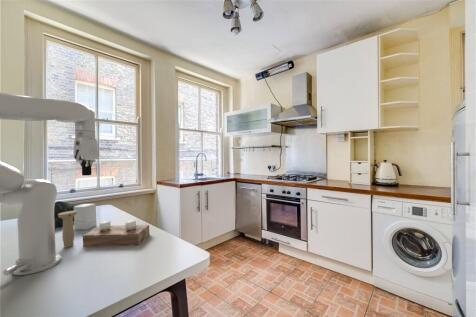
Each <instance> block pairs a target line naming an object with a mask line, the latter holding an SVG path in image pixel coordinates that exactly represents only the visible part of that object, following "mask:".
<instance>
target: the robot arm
mask: <svg viewBox="0 0 476 317" xmlns="http://www.w3.org/2000/svg"><path fill="white" fill-rule="evenodd" d="M0 120H5V121H6V120H8V121H21V122H22V121H25V122H41V121H42V122H43V121H44V122H45V121H57V122H61V123H74V142H73V158H74V160H75V162H76V163H77V164H80V167H81V175H82V176H91V175H92V167H93V163H96V162H97V161H96V160H99V157H100V156H99V153H100V152H99V146H98V145H99V144H98V141H97V137H96V113H95V110H94V109H93V108H90V107H88V106H87V105H86V104H84V103H81V102H76V101H71V100H65V99H58V98H57V99H56V98H55V99H54V98H47V97H46V98H44V97H36V96H28V95H20V94H15V93H14V94H13V93H8V92H0ZM57 196H58V190H57V187H56V185H55V184H54V183H53V182H52V181H49V180H47V179H42V178H40V179H39V178H29V179H27V178H25V176H24V173H23V172H21V170H19V169H18V168H16V167H14V166H12V165H9V164H8V163H5V162H3V161H1V160H0V203H1V204H5V205H8V206H9V205H10V206H21V208H20V211H19V213H18V216H17V224H16V225H17V238H18V240H17V241H18V242H17V243H18V244H17V245H18V259H16V260H15V264H13V266H12V265H11V266H10V267H8V268H6V269H4V270H3V272H2V273H3V275H4V276H9V275H12V274H13V275H15V276H27V275H32V274H37V273H40V272H42V271H45V270H48V269H50V268H52V267H54V266H56V265H58V264H59V263H60V262H61V261H62V255H60V254H57V253H56V251H57V250H56V230H55V229H56V227H55V221H54V207H55V203H56V202H57V201H56V200H57Z"/></svg>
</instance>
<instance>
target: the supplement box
mask: <svg viewBox="0 0 476 317" xmlns="http://www.w3.org/2000/svg"><path fill="white" fill-rule="evenodd" d="M74 206H75V207H74V211H77V214H76V215H75V216H74V222H73V227H74V230H84V231H85V230H88V229H91V228H94V227H96V226H97V225H98V224H97V205H96V203H83V204H82V203H81V204H78V205H74Z"/></svg>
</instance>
